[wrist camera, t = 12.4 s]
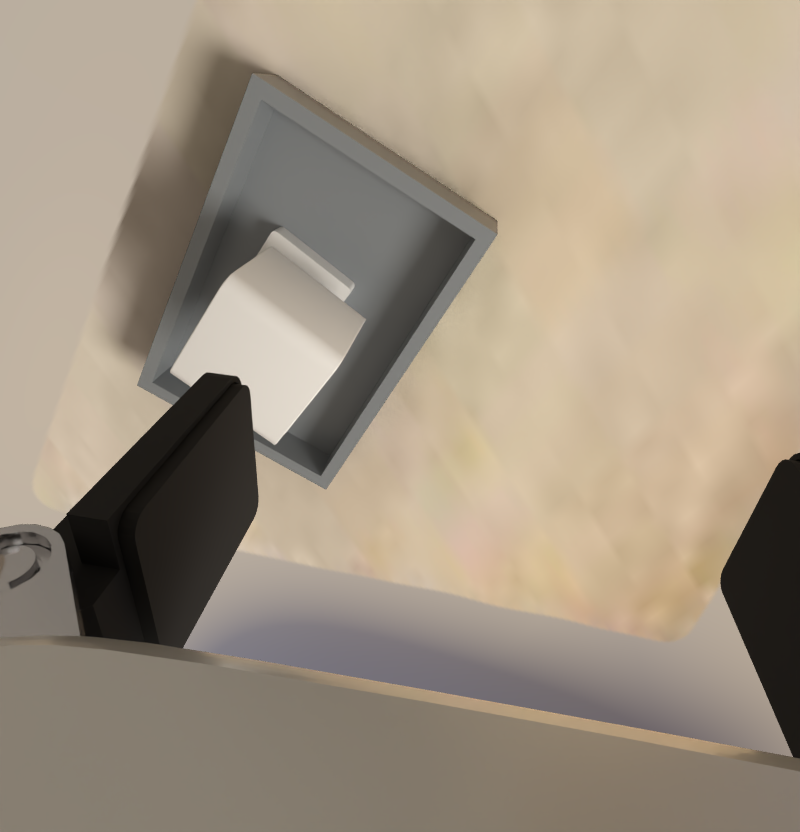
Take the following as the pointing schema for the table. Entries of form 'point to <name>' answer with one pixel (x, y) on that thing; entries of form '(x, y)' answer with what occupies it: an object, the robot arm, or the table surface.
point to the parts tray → (326, 256)
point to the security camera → (275, 331)
